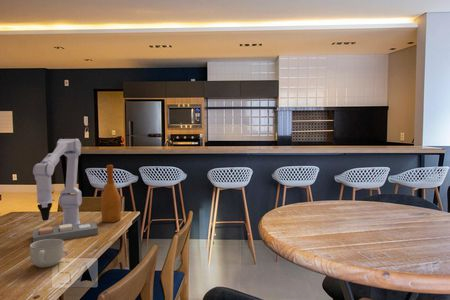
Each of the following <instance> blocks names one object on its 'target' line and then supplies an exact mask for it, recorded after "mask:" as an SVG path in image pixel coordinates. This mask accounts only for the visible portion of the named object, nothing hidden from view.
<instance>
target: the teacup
mask: <svg viewBox="0 0 450 300" xmlns="http://www.w3.org/2000/svg"><path fill="white" fill-rule="evenodd" d="M64 244H65V241H64V240H60V239H45V240H40V241H36V242H34V243H33V242H31V243H30V245H29V249H30V250H29V257H30V259H29V260H30V262H31V264H33V265H34V266H36V267H38V268H43V269H44V268H50V267H54V266H55V265H57V264H58V263H60V261H61V260H62V259H63V256H64V247H65V246H64Z"/></svg>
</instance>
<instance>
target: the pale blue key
mask: <svg viewBox="0 0 450 300" xmlns="http://www.w3.org/2000/svg"><path fill="white" fill-rule="evenodd" d="M87 227H91V226H90V224H85V225H79V226H78V228H79V229H81V228H87Z"/></svg>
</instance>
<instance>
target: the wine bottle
mask: <svg viewBox="0 0 450 300" xmlns="http://www.w3.org/2000/svg"><path fill="white" fill-rule="evenodd" d="M106 174H107V180H106V183H104V185H103V187H102V190H103V192H102V195H101V200H100V203H101V204H100V207H101V208H100V209H101V210H100V211H101V220H102V222H103V223H116V222H119V221H121V219H122V218H121V217H122V204H121V203H122V202H121V195H120V192H119V191H118V188H117V187H116V184H115V181H114V165H113V164H106Z"/></svg>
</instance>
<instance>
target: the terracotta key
mask: <svg viewBox="0 0 450 300" xmlns="http://www.w3.org/2000/svg"><path fill="white" fill-rule="evenodd" d="M52 227H53V226H46V227H45V226H44V227H39V228H38V229H39V232H40V235H41V234H48V233H53V231H52Z"/></svg>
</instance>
